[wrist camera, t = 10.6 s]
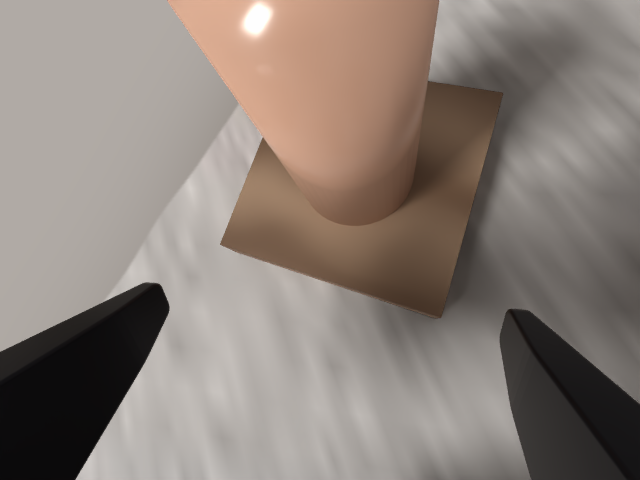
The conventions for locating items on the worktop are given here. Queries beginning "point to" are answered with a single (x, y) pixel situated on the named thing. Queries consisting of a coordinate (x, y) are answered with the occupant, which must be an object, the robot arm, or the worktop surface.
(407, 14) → the pink rounded glossy part
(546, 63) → the worktop surface
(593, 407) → the robot arm
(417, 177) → the walnut stand
